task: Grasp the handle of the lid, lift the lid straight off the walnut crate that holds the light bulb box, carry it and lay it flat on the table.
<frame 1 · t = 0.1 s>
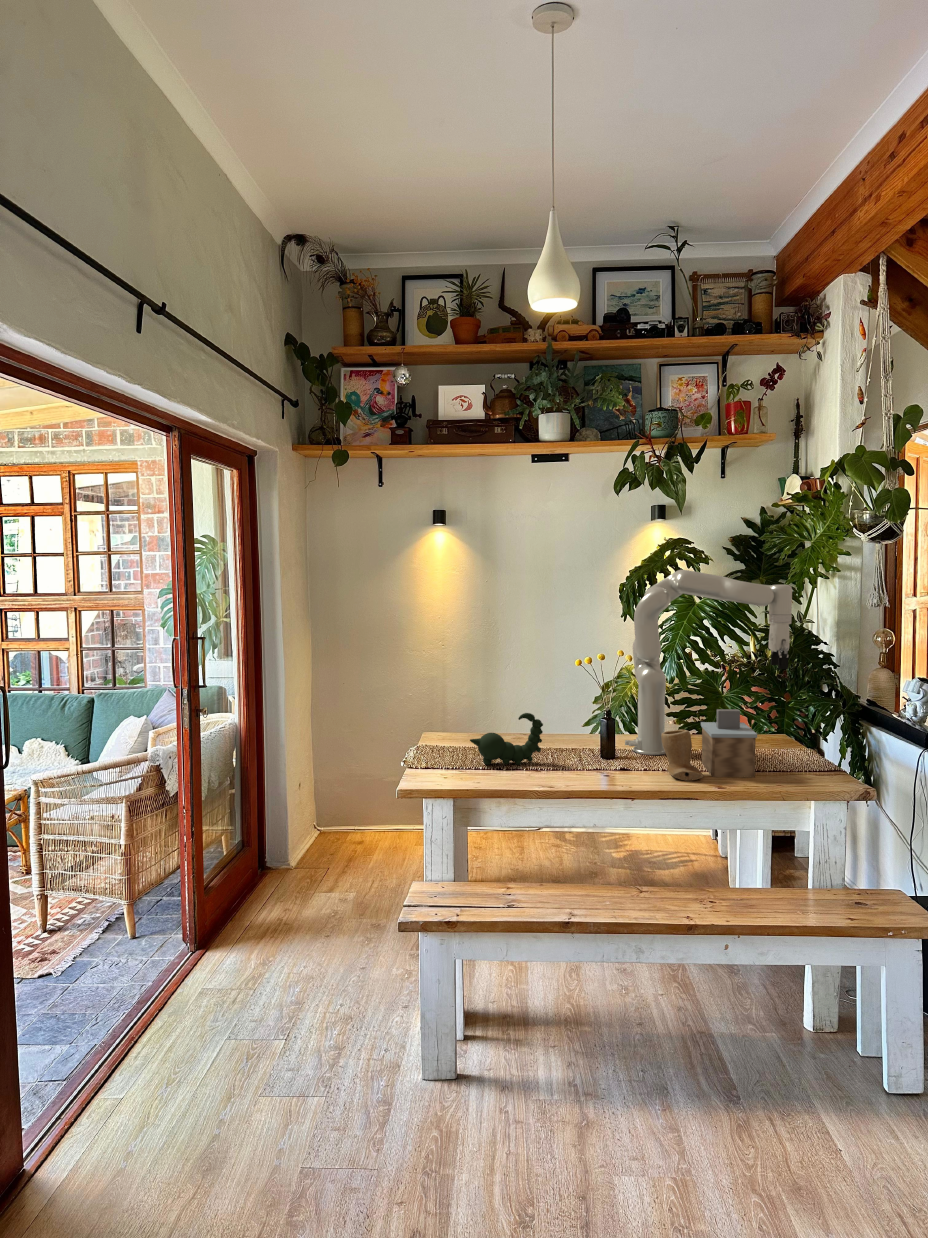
hand: (779, 667, 304), 31 cm above the table, fingers open, 9 cm apart
light bulb box: (727, 770, 284), resting in crate
lid: (728, 731, 283), point 13 cm above the table, touching crate
crate: (727, 770, 284), on the table
toy figurine: (506, 764, 296), on the table
tan boot: (680, 776, 277), on the table
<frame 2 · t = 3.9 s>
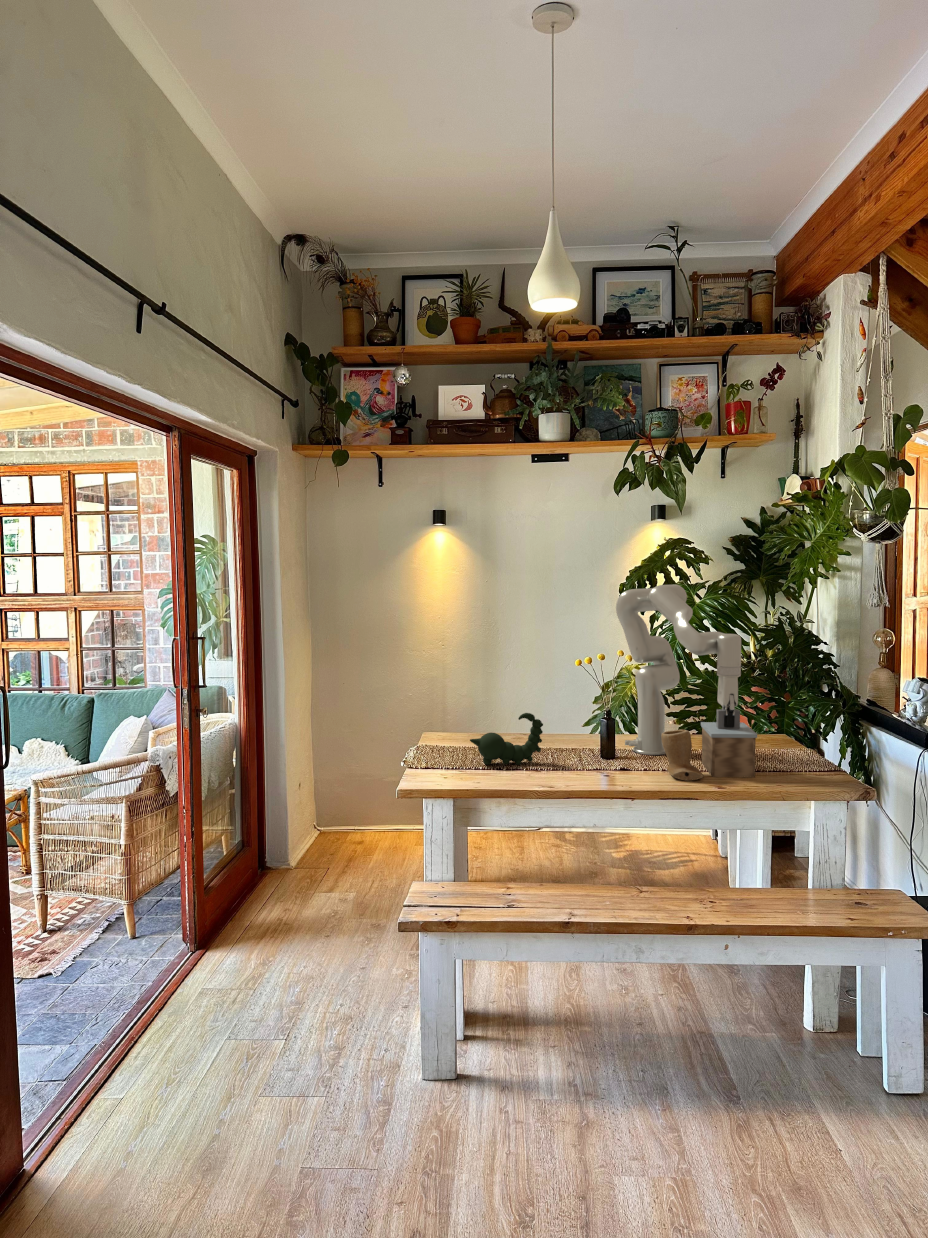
hand: (728, 725, 283), 15 cm above the table, fingers closed on lid, 2 cm apart
lid: (728, 731, 283), point 13 cm above the table, touching crate, gripper
everything else where it was.
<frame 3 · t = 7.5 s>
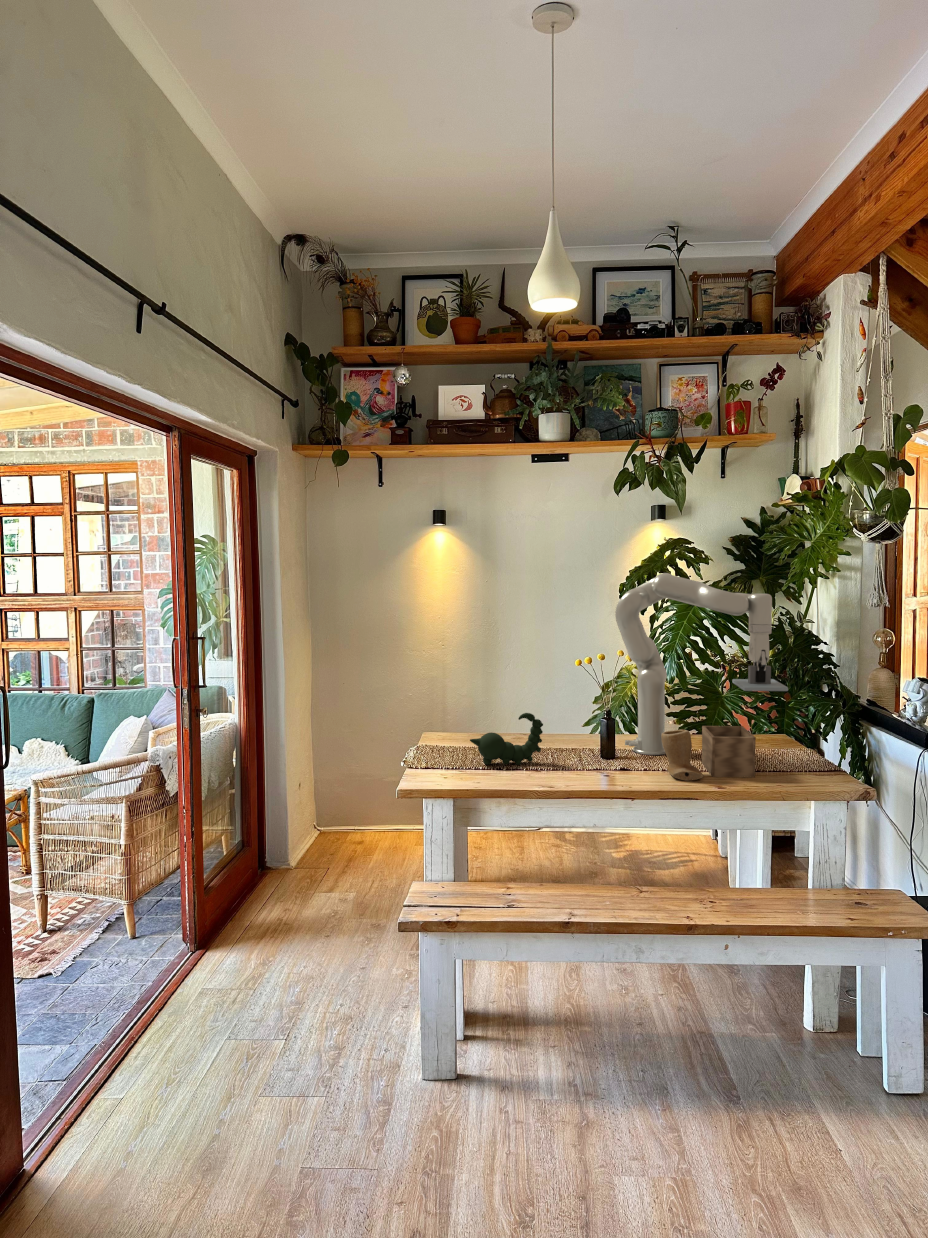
hand: (759, 681, 297), 27 cm above the table, fingers closed on lid, 2 cm apart
lid: (759, 686, 297), point 25 cm above the table, touching gripper
everything else where it was.
when the fingers open (4 cm above the table, at t = 11.1 s): lid drops 3 cm, on the table.
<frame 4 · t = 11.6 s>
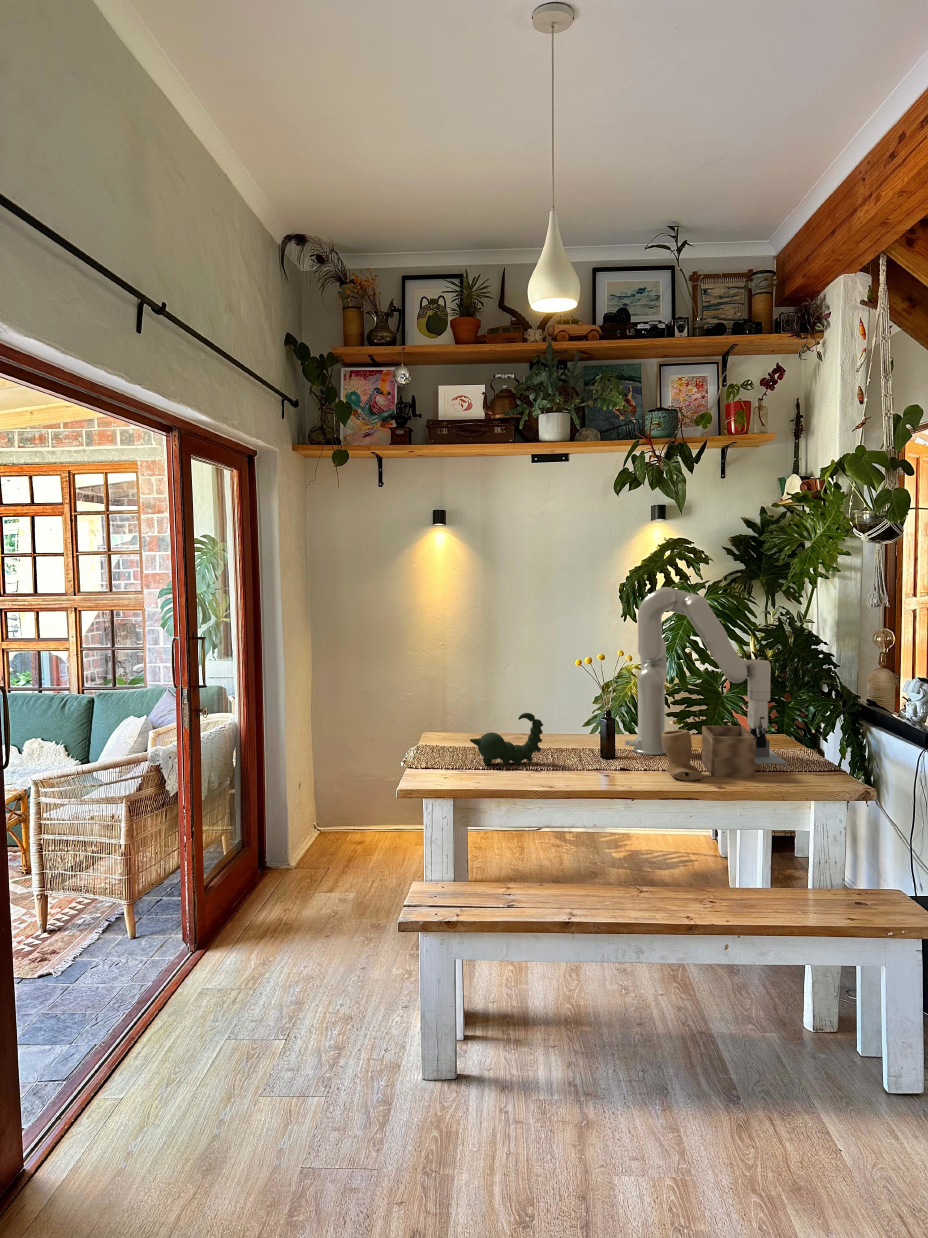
hand: (757, 744, 299), 5 cm above the table, fingers open, 8 cm apart
lid: (757, 759, 300), on the table
everything else where it was.
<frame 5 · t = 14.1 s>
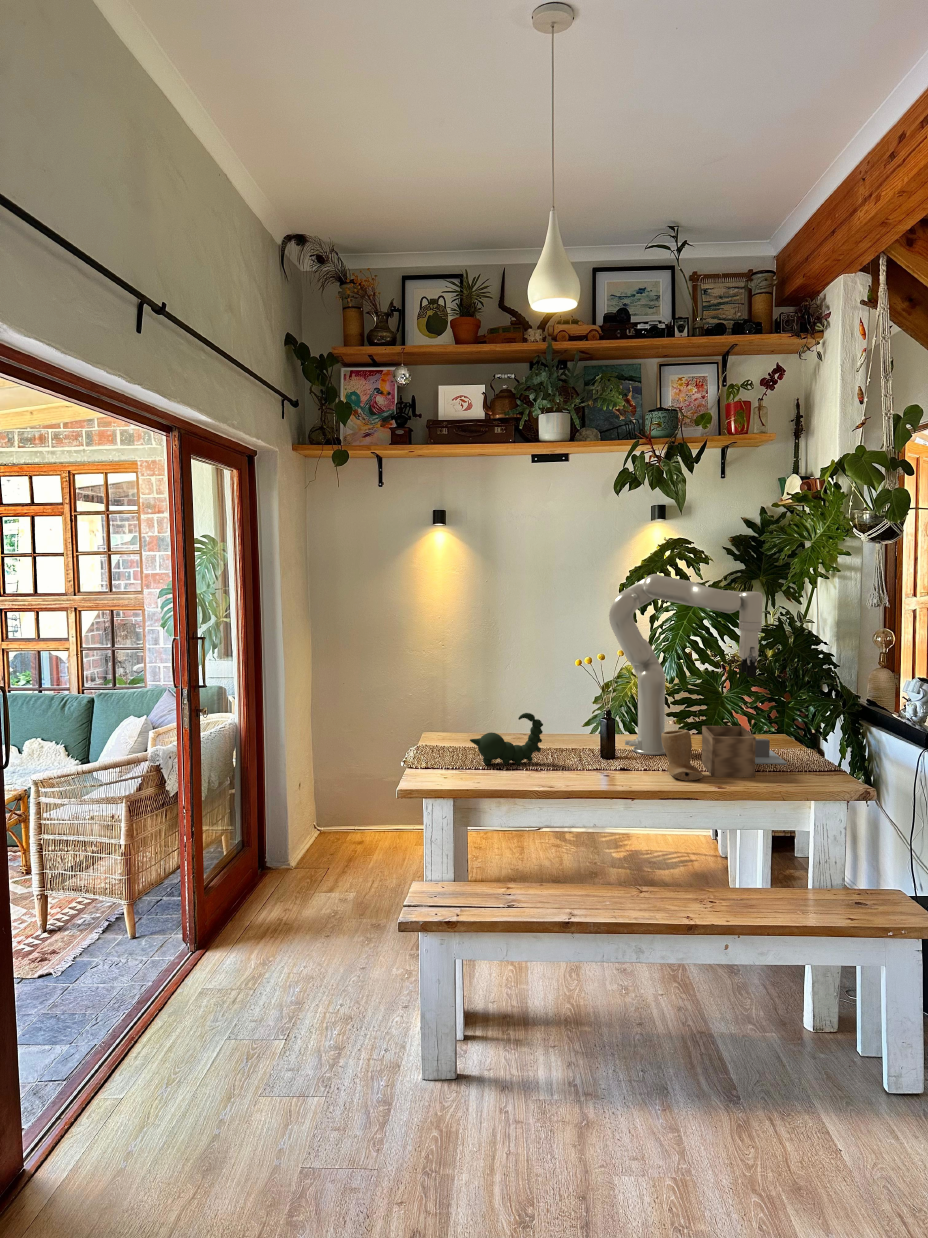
hand: (748, 674, 301), 29 cm above the table, fingers open, 9 cm apart
nothing on the table moved.
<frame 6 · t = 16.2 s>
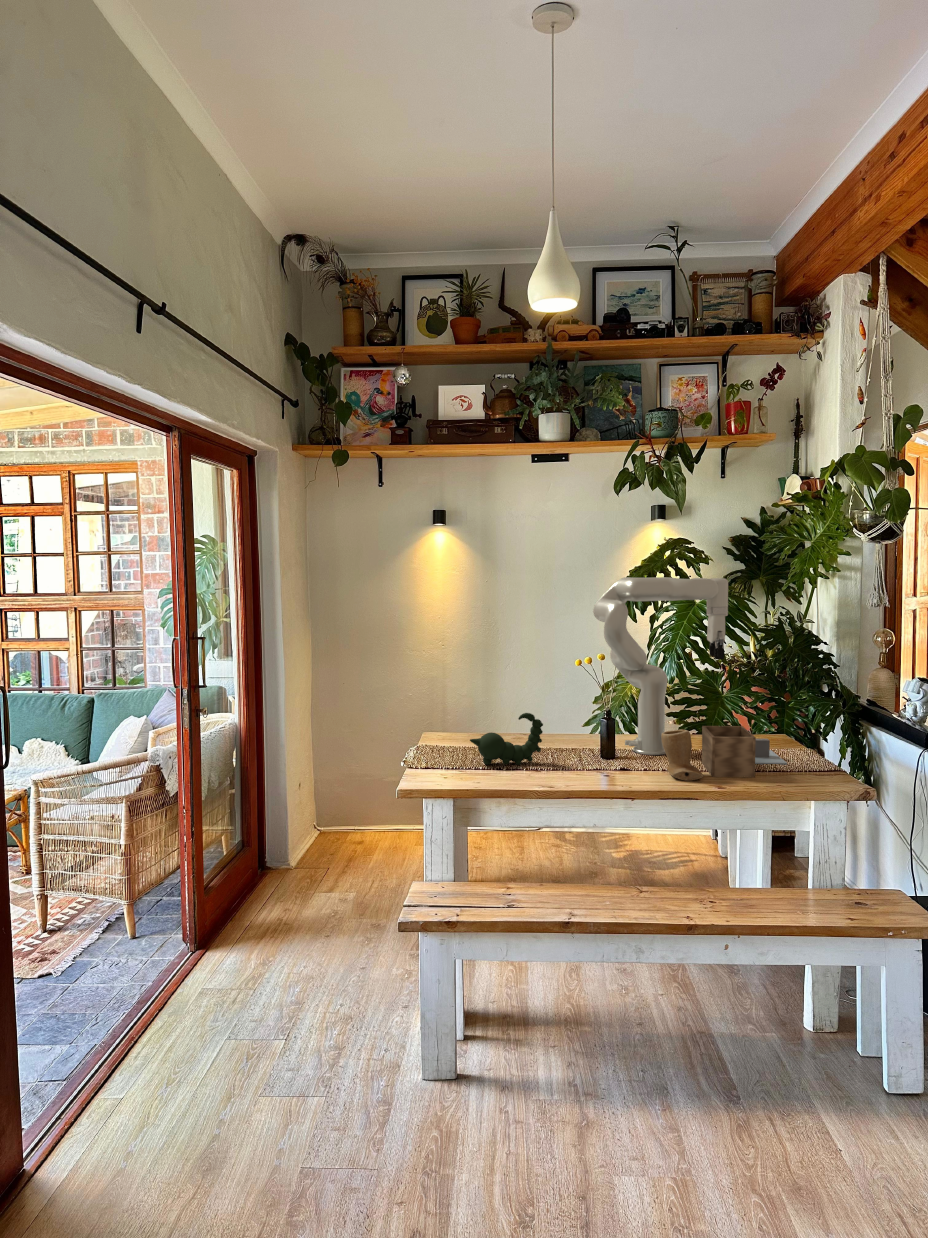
hand: (716, 657, 316), 33 cm above the table, fingers open, 9 cm apart
nothing on the table moved.
at the end: lid inside the target area (0.1 cm from its centre), on the table; lid tilted 0°; lid touching table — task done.
